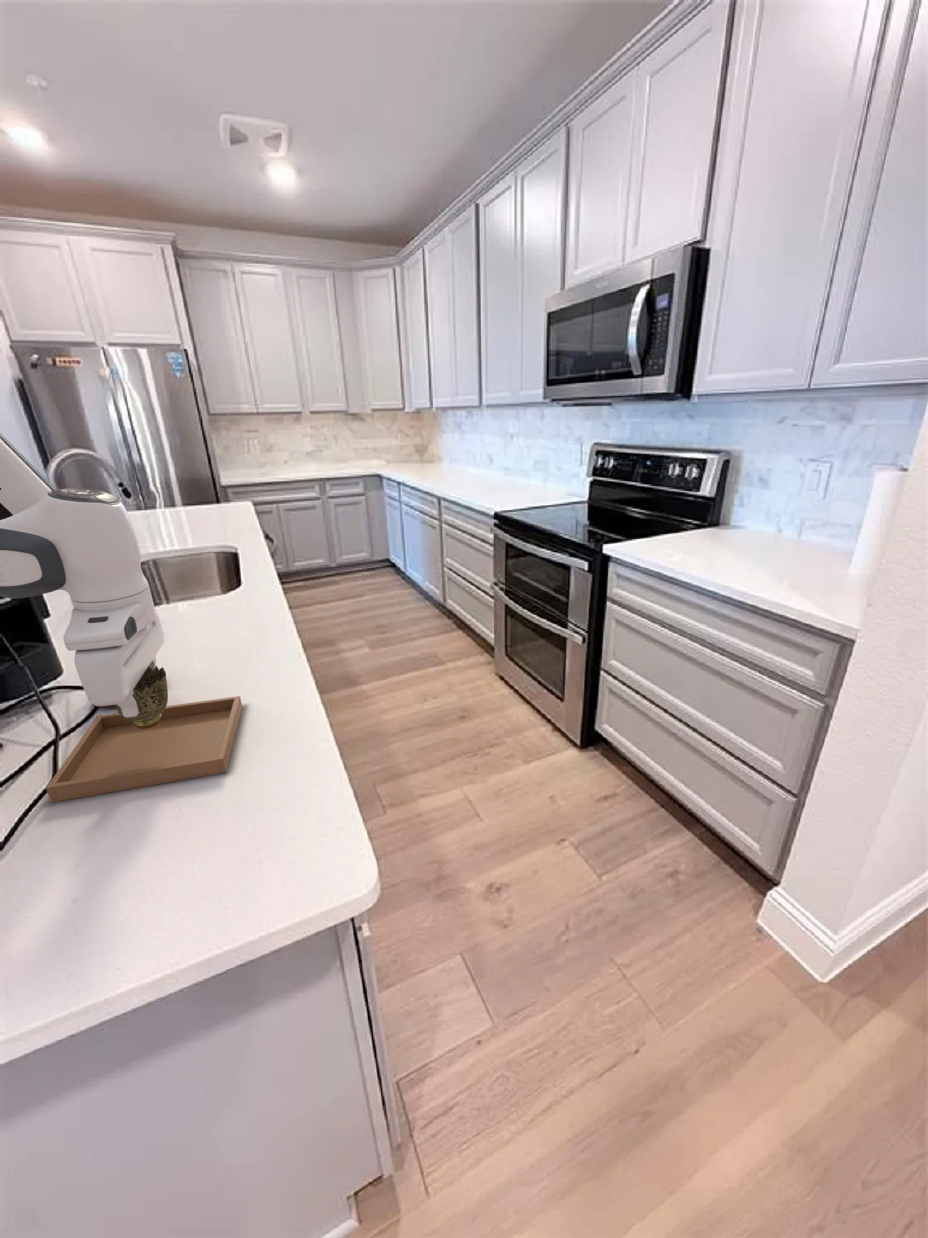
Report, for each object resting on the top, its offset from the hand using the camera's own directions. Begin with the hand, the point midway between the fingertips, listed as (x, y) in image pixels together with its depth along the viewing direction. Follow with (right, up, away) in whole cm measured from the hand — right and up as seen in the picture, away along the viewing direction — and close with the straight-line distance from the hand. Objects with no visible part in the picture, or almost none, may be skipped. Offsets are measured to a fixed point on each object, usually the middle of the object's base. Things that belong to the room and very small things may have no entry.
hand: (142, 699), depth 74 cm
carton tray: (0, -8, +4) cm, 9 cm away
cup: (0, -4, +2) cm, 4 cm away
